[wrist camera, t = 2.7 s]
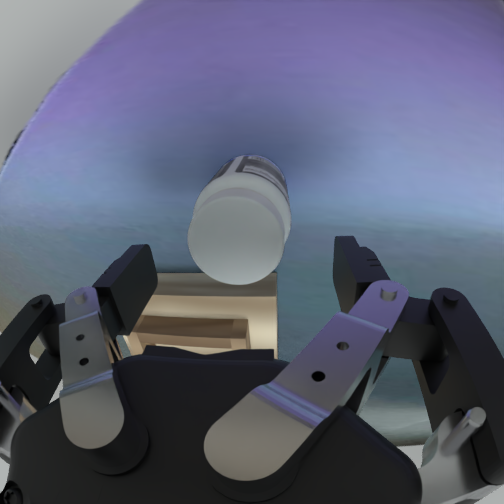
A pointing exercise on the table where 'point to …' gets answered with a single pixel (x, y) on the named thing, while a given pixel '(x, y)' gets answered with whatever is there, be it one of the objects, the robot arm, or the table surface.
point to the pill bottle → (241, 221)
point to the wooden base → (208, 315)
